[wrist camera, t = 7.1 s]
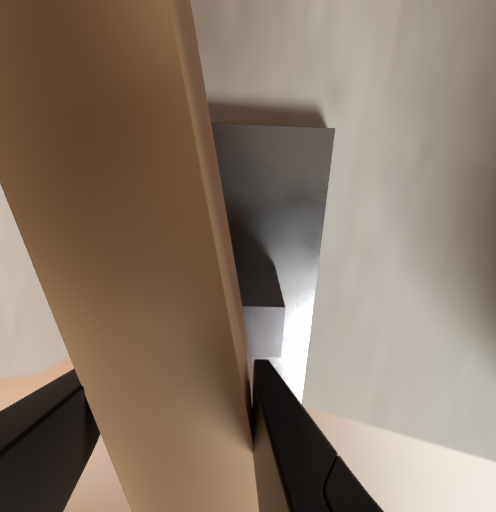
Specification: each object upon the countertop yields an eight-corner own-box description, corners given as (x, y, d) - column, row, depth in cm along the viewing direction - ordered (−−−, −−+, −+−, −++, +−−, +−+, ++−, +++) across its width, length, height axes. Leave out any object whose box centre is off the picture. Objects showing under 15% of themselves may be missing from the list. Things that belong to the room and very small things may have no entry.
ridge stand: (328, 130, 13) (376, 113, 8) (298, 390, 17) (317, 478, 12) (97, 120, 13) (7, 97, 8) (126, 384, 17) (79, 471, 12)
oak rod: (158, -186, 6) (70, -515, 3) (286, 562, 13) (296, 673, 10) (-10, -149, 6) (-244, -428, 3) (210, 569, 13) (199, 680, 11)
